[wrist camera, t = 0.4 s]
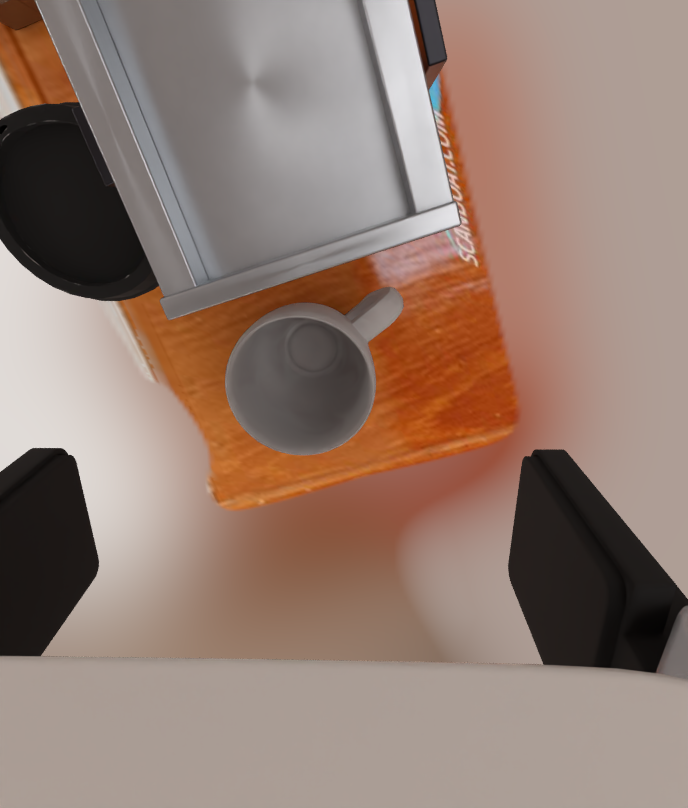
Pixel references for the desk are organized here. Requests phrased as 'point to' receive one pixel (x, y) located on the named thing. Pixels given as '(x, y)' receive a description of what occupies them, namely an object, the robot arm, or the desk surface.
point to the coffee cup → (66, 209)
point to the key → (19, 13)
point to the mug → (308, 373)
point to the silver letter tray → (257, 134)
